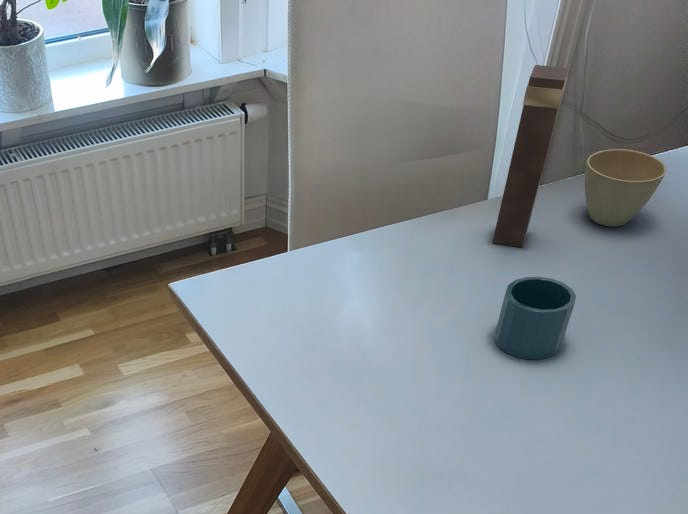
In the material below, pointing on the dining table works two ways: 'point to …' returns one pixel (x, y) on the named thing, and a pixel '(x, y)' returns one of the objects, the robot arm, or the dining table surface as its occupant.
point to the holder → (534, 317)
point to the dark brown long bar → (530, 153)
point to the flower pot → (620, 184)
